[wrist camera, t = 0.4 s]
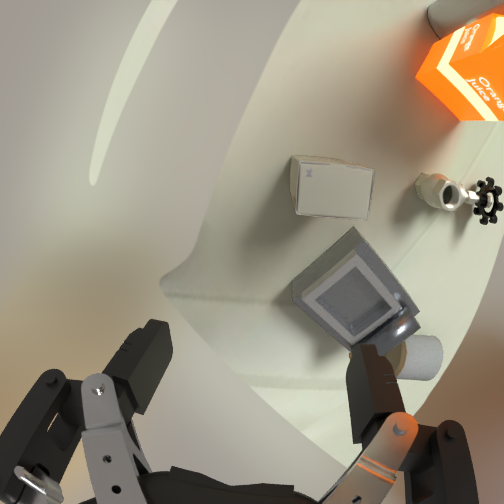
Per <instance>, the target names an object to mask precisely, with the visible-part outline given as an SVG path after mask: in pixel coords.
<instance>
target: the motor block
mask: <svg viewBox="0 0 504 504" xmlns="http://www.w3.org/2000/svg"><path fill="white" fill-rule="evenodd" d="M292 301H293V302H295V303H296V304H297V305H298V306H299V307H300V308H301V309H302V310H304V311H305V312H306V313H307V314H308V315H309V316H310V317H311V318H313V319H314V320H315V321H316V322H317V323H318V324H319V325H320V326H322V327H323V328H324V329H325V330H326V331H327V332H328V333H330V334H331V335H332V336H333V337H334V338H335V339H336V340H337V341H339V342H340V343H341V344H342V345H343V346H344V347H345V348H347V349H348V350H349V351H350V353H349V358H350V360H351V357H352V355H353V352H354V349H355V347H356V345H357V344H375V346H376V348H377V352H378V355H379V356H384V355H385V354H386V353H388V352H389V351H391V350H392V349H394V348H395V347H396V346H398V345H399V344H400V343H402V342H403V341H404V340H406V339H407V338H408V337H410V336H411V335H412V334H414V333H415V332H416V331H417V330H419V329H420V328H421V327H420V325H419V323H418V322H417V320H416V318H415V317H414V316H415V315H417V314H418V313H419V312H420V311H419V309H418V308H417V306H416V305H415V303H414V302H413V300H412V299H411V297H410V296H409V294H408V293H407V291H406V290H405V289H404V287H403V286H402V285H401V283H400V282H399V281H398V279H397V278H396V277H395V276H394V274H393V273H392V272H391V270H390V269H389V268H388V267H387V265H386V264H385V263H384V262H383V260H382V259H381V258H380V257H379V255H378V254H377V253H376V252H375V251H374V249H373V248H372V247H371V246H370V245H369V243H368V242H367V241H366V240H365V239H364V237H363V236H362V235H361V234H360V233H359V232H358V231H357V229H356V228H355V227H353V228H351V229H350V230H349V231H348V232H347V233H346V234H345V235H344V236H343V237H341V238H340V239H339V240H338V241H337V242H336V243H335V244H334V245H333V246H331V247H330V248H329V249H328V250H327V251H326V252H325V253H323V254H322V255H321V256H320V257H319V258H318V259H317V260H315V261H314V262H313V263H312V264H311V265H310V266H309V267H307V268H306V269H305V270H304V271H303V272H302V273H300V274H299V275H298V276H297V277H296V278H294V279H293V280H292Z"/></svg>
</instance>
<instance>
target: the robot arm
mask: <svg viewBox="0 0 504 504" xmlns="http://www.w3.org/2000/svg"><path fill="white" fill-rule="evenodd" d="M492 13H494V14H499V15H504V0H436V1H435V2H434V3H432V4H431V5H430V7H429V8H428V18H429V21H430V24H431V26H432V28H433V29H434V31H435V33H436V34H437V35H438V37H439V38H440V39H443V38H445V37H446V36H448V35H450V34H452V33H454V32H455V31H457V30H459V29H460V28H462V27H464V26H467V25H469V24H471V23H473V22H475V21H477V20H479V19H481V18H484V17H486V16H488V15H490V14H492ZM172 354H173V346H172V341H171V336H170V329H169V325H168V323H167V322H164V321H159V320H154V319H150V320H149V321H148V322H147V324H146V325H145V327H144V328H143V329H142V328H138V329H136V330H135V331H133V332H132V333H130V334H129V336H128V337H127V339H126V340H125V341H124V343H123V344H122V345H121V347H120V349H119V350H118V351H117V352H116V353H115V355H114V356H113V358H112V359H111V360H110V362H109V363H108V365H107V366H106V368H105V369H104V370H103V372H102V373H97V374H92V375H90V376H88V377H87V378H86V379H85V380H84V381H80V380H70V379H66V377H65V375H64V373H63V372H62V371H60V370H58V369H50V370H47V371H45V372H44V373H43V374H42V375H41V376H40V377H39V379H38V380H37V381H36V383H35V384H34V385H33V387H32V388H31V390H30V391H29V393H28V394H27V395H26V397H25V398H24V400H23V401H22V403H21V404H20V406H19V407H18V408H17V410H16V412H15V413H14V415H13V416H12V418H11V419H10V421H9V422H8V424H7V426H6V427H5V429H4V430H3V432H2V434H1V436H0V500H1V501H2V502H3V503H5V504H61V503H62V502H63V500H64V497H63V495H62V491H61V487H60V486H59V483H60V481H61V479H62V477H63V475H64V472H65V470H66V468H67V466H68V464H69V462H70V460H71V457H72V455H73V453H74V451H75V449H76V447H77V445H78V443H79V441H80V439H81V437H82V442H83V447H84V452H85V457H86V462H87V467H88V471H89V474H90V479H91V483H92V486H93V490H94V493H95V497H94V498H92V499H89V500H87V501H84V502H81V503H79V504H381V503H382V501H383V500H384V498H385V497H386V495H387V494H388V492H389V491H390V489H391V487H392V486H393V484H394V482H395V480H396V477H395V474H396V472H397V471H404V480H405V497H406V504H479V500H478V493H477V487H476V480H475V474H474V469H473V464H472V460H471V455H470V451H469V447H468V443H467V439H466V435H465V432H464V429H463V427H462V426H461V425H460V424H459V423H458V422H456V421H453V420H446V421H444V422H442V423H441V424H440V425H439V426H438V427H431V426H425V425H420V424H417V421H416V420H415V418H414V417H413V416H411V415H410V414H408V413H406V411H405V408H404V404H403V400H402V397H401V393H400V390H399V386H398V383H397V380H396V377H395V376H394V374H395V373H394V370H393V367H392V364H391V363H390V362H389V361H388V359H387V358H386V357H385V356H379V355H378V352H377V348H376V346H375V344H357V345H356V347H355V349H354V352H353V355H352V357H351V360H350V363H349V365H348V368H347V372H346V385H347V393H348V401H349V409H350V417H351V427H352V437H353V444H358V443H362V451H361V452H360V453H359V454H358V456H357V457H356V458H355V460H354V461H353V462H352V464H351V465H350V466H349V467H348V469H347V470H346V471H345V472H344V474H343V475H342V476H341V477H340V478H339V480H338V481H337V482H336V483H335V484H334V485H333V486H332V487H331V488H330V489H329V491H327V493H326V494H325V495H324V496H323V497H322V498H321V499H320V500H319V501H318V502H317V501H315V500H314V499H312V498H311V497H309V496H307V495H305V494H302V493H299V492H296V491H294V485H279V484H266V483H261V484H251V485H238V486H230V485H227V484H224V483H222V482H219V481H217V480H215V479H212V478H210V477H208V476H206V475H203V474H201V473H198V472H193V471H189V470H185V469H182V468H178V467H174V466H172V467H171V469H170V471H160V472H152V470H151V468H150V466H149V464H148V462H147V460H146V458H145V456H144V454H143V451H142V448H141V445H140V443H139V440H138V437H137V433H136V430H135V427H134V424H133V421H132V416H133V414H134V412H136V413H139V414H142V415H144V413H145V411H146V409H147V407H148V405H149V403H150V401H151V399H152V397H153V394H154V393H155V391H156V388H157V387H158V385H159V383H160V380H161V379H162V377H163V375H164V373H165V371H166V369H167V367H168V365H169V363H170V361H171V358H172ZM57 413H58V415H57V416H56V418H55V420H54V421H53V423H52V425H51V427H50V428H49V430H48V427H49V425H50V423H51V422H52V420H53V418H54V417H55V415H56V414H57ZM47 430H48V432H47Z"/></svg>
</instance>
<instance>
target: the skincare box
mask: <svg viewBox="0 0 504 504" xmlns="http://www.w3.org/2000/svg"><path fill="white" fill-rule="evenodd" d="M374 177H375V171H374V170H373V169H370V168H367V167H364V166H360V165H357V164H353V163H350V162H346V161H343V160H339V159H332V158H324V157H313V156H297V155H292V156H291V167H290V193H291V197H292V201H293V205H294V209H295V212H296V214H298V215H304V216H313V217H323V218H336V219H350V220H368V215H369V210H370V204H371V199H372V192H373V185H374Z"/></svg>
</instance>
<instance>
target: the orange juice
mask: <svg viewBox="0 0 504 504" xmlns="http://www.w3.org/2000/svg"><path fill="white" fill-rule="evenodd" d="M415 78H416V79H418V80H419V81H420V82H421V83H422V84H423V85H425V86H426V87H427V88H428V89H429V90H430V91H431V92H432V93H433V94H434V95H436V96H437V97H438V98H439V99H440V100H441V101H442V102H443V103H444V104H445V105H446V106H447V107H448V108H449V109H450V110H451V111H452V112H453V113H454V114H455V115H456V116H457V117H458V119H459V120H460V121H466V120H486V121H504V15H499V14H494V13H492V14H490V15H488V16H486V17H484V18H481V19H479V20H477V21H475V22H473V23H471V24H469V25H467V26H464V27H462V28H460V29H459V30H457V31H455V32H454V33H452V34H450V35H448V36H446V37H445V38H443V39H441V40H439V41H438V42H436V43H434V44H433V46H432V48H431V50H430V51H429V53H428V55H427V57H426V59H425V61H424V63H423V64H422V66H421V68H420V70H419V72H418V73H417V75H416V77H415Z"/></svg>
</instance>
